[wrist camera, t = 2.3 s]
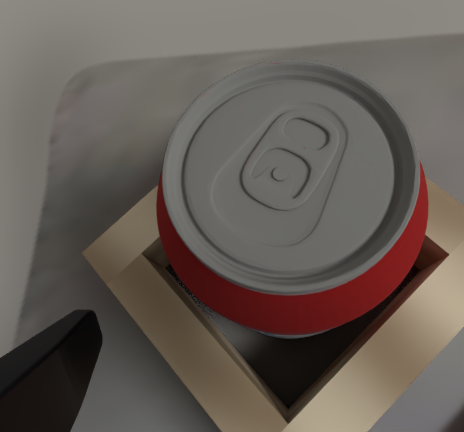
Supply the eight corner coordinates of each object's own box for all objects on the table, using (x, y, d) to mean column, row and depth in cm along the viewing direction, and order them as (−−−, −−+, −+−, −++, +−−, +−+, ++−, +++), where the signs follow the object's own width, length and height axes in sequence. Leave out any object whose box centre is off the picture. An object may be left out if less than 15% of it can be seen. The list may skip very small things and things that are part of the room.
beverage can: (195, 291, 19) (69, 219, 8) (263, 185, 21) (235, -2, 10) (313, 368, 18) (359, 414, 6) (380, 246, 19) (516, 102, 8)
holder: (288, 482, 16) (289, 517, 13) (114, 267, 20) (81, 252, 17) (484, 271, 18) (529, 254, 15) (285, 112, 22) (284, 71, 19)
